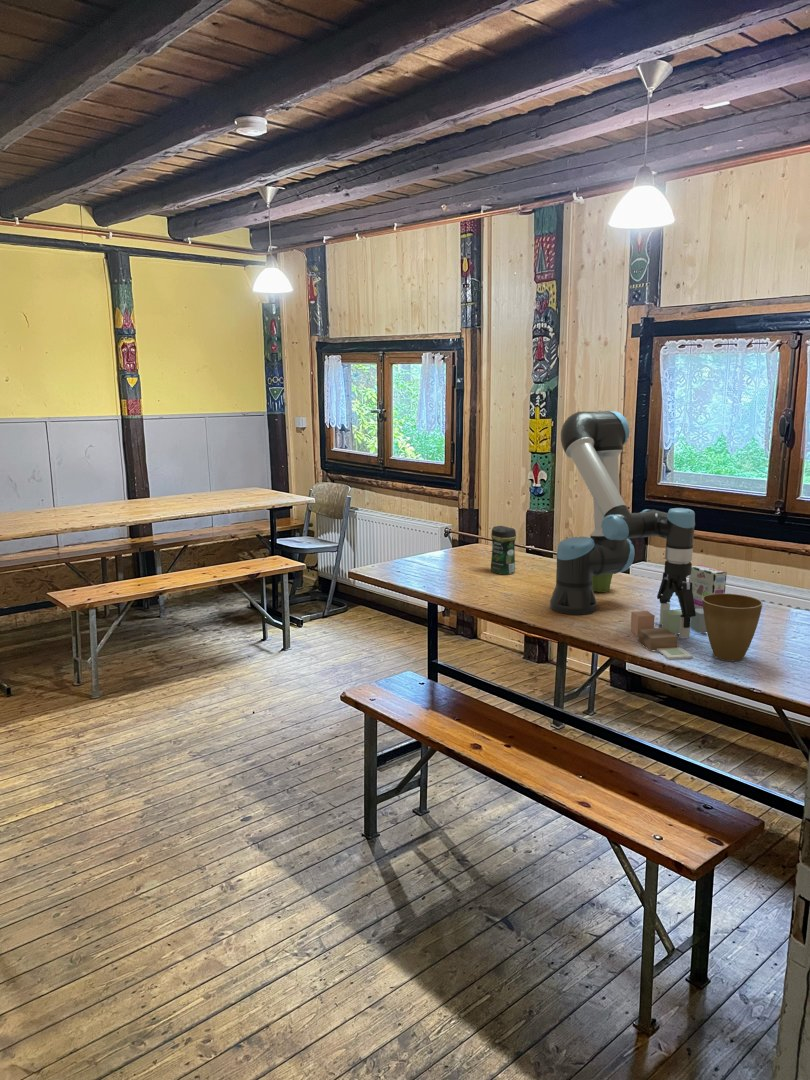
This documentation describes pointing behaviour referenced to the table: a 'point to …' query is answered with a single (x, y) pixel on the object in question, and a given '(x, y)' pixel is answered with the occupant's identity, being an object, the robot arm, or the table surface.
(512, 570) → the coffee jar
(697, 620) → the slate block
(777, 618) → the table surface
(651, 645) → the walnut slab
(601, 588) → the plant pot
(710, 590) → the candy bar box
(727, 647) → the plant pot
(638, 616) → the terracotta block
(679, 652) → the tile
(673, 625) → the sage block
